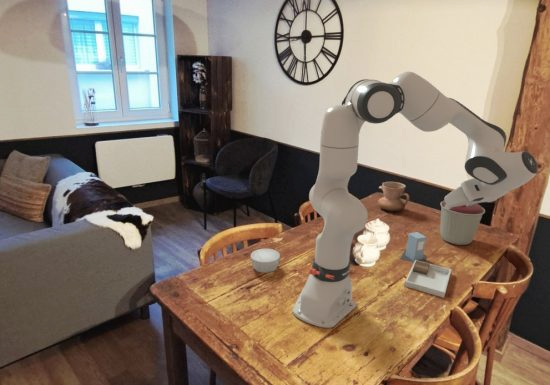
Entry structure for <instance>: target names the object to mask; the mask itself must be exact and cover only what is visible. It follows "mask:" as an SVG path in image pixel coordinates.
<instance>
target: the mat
mask: <svg viewBox="0 0 550 385" xmlns="http://www.w3.org/2000/svg"><path fill="white" fill-rule="evenodd" d="M405 254H406V249H405V250H404V251H403V253H402V254H401V257H400V258H399V259H400V260H403V261H406V262H410V263H414V261H413V260H411V259H410V258H408V257H407V256H405ZM427 258H428V255H427V254H423V258H422V259H421V260H418V261H422V262H426V260H427Z"/></svg>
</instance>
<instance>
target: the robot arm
mask: <svg viewBox="0 0 550 385" xmlns="http://www.w3.org/2000/svg"><path fill="white" fill-rule="evenodd" d="M398 113H399V114H401V115H402V116H403V117H404V118H405V119H407V121H408V122H410V124H412V125H413V126H414V127H415V128H417V129H418V130H420V131H422V132H426V133H429V132H436V131H438V130H440V129H442V128H444V127H446V126H447V125H448V124H450V125H452V126H454V127H455V129H457V130H459V131H461V132H462V134H464V135H466V137H467V143H468V145H467V146H468V147H467V151H466V155H465V160H464V170H465V172H466V173H467V175H469V176H470V177H471V179H467V180H465V181H463V182H461V183H460V186H458V187H456V188H455V189H453V190H452V191H451V192H449V193H447V195H445V196H444V200H443V201H445V203H446V205H445V208H446V210H448V209H451V208H453V207H456V206H463V205H466V206H471V205H473V204H476V203H477V204H481V203H492V202H495V201H497V200H498V199H499V198H502V197H504V196H506V195H507V194H508V193H509V192H510V191H512V190H516V189H519V188H521V187H522V186H523V185H525V184H526V183H528V182H530V180H532V179H533V178H535V176H536V175H537V174H538V163H537V160H536V158H535V157H534V156H533V155H532V154H531V153H530V152H528V151H525V150H523V151H522V150H521V151H518V152H511V151H510V152H508V151H505V146H506V143H507V134H506V132H505V131H504V129H503V128H501V127H499V126H497V125H496V124H493V123H491V122H488V121H486V120H485V119H482V118H481V117H480V116H478V115H477V114H476V113H475V112H473V111H472V110H470V109H469V108H468V107H466V106H465V105H464V104H462V103H461V102H459V101H457V99H454V98H452V97H448V96H446V95H444V93H443V92H441V91H440V90H439V89H437V87H435V86H434V84H432V83H431V82H430V81H428V80H426V79H425V78H423V77H422V76H420V75H419V74H417V73H415V72H413V71H404V72H403V73H400V74H398V75H397V76H396V77H395V78H394V79H393V80H392V81H391V82H389V83H386V82H382V81H380V80H377V79H369V78H368V79H367V78H365V79H361V80H358V81H357V82H355V83H354V84H353V85H351V87H350V88H349V90H348V92H347V93H346V95H345V97H344V98H343V100H342V101H341V104H337V105H334V106H331V107H329V108H328V109H327V110H326V111H325V113H324V115H323V119H322V124H321V130H320V141H319V142H320V145H319V167H318V174H317V176H316V177H317V178H316V179H315V180H316V181H315V184H313V186H312V187H311V188H310V190H309V194H308V199H309V202H310V205H311V207H312V208H313V210H314V211H315V212H316V213H317V214H318V215H319V216H320V217H321V218H323V223H324V225H323V228H322V232H321V233H319V234H318V235H317V236H316V239H315V250H314V257H313V261H312V264H311V267H310V268H309V270H308V274H309V275H308V277H307V280H306V282H305V284H304V286H303V288H302V290H301V292H300V294H299V295H298V298H297V300H296V301H295V303H294V306H293V309H292V314H293V315H294V316H295V317H296V318H298V319H300V320H301V321H303V322H305V323H308V324H310V325H314V326H315V327H316V326H317V327H319V328H330V329H331V328H334V327H335V326H336V325H337V324H338V323H340V321H342V320H343V319H344V318H345V317H346V316H348V314H350V313H351V312H352V311H353V310H355V308H356V307H357V304H356V302H355V301H354V299H353V284H354V283H353V282H352V280H351V277H350V270H351V262H350V255H351V249H352V248H351V246H352V242H353V239H354V236H355V235H356V234H358V233H359V232H361V230H363V229H364V227H365V226H366V224H367V222H368V218H369V217H368V216H369V215H368V214H369V213H368V210H367V208H366V207H365V206H364V204H363V203H362V202H361V200H360V199H359V198H358V197H356V196H354V195H353V194H352V193H350V192H349V190H348V185H349V182H350V179H351V177H352V176H354V174H356V172H357V170H358V159H359V158H358V157H359V142H360V141H359V140H360V133H361V129H362V126H363V125H364V123H365V122H367V123H369V124H375V125H376V124H382V123H384V122H387V121H389V120H390V119H391V118H393V117H394V116H395V115H397V114H398Z"/></svg>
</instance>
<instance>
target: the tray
mask: <svg viewBox="0 0 550 385" xmlns="http://www.w3.org/2000/svg"><path fill="white" fill-rule="evenodd" d="M417 261H418V260H417ZM415 262H416V260H415V261H414V262H412V266H411V268H410V270H409V272H408V275H407V276H406V279H405V281H404V287H406V288H410V289H412V290H416V291H419V292H424V293H426V294H430V295H434V296H436V297H440V298H445V295H446V292H447V288H448V284H449V282H450V281H449V280H450V277H451V274H452V273H451V272H452V269H451V268H448V267H443V266H441V265H437V264H432V263H429V264H430V266H429V271H428V273H427V275H424V274H420V273H417V272H413V268H414V264H415ZM421 262H422V261H421ZM425 263H427V262H426V261H425Z"/></svg>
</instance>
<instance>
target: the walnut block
mask: <svg viewBox="0 0 550 385" xmlns="http://www.w3.org/2000/svg"><path fill="white" fill-rule="evenodd" d="M425 262H426V261H425ZM425 262H421V261H417V260H416V262H415V264H414V268H413V272H417V273H420V274H424V275H427V273H428V271H429V266H430V264H431V263H429V262H426V263H425Z"/></svg>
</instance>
